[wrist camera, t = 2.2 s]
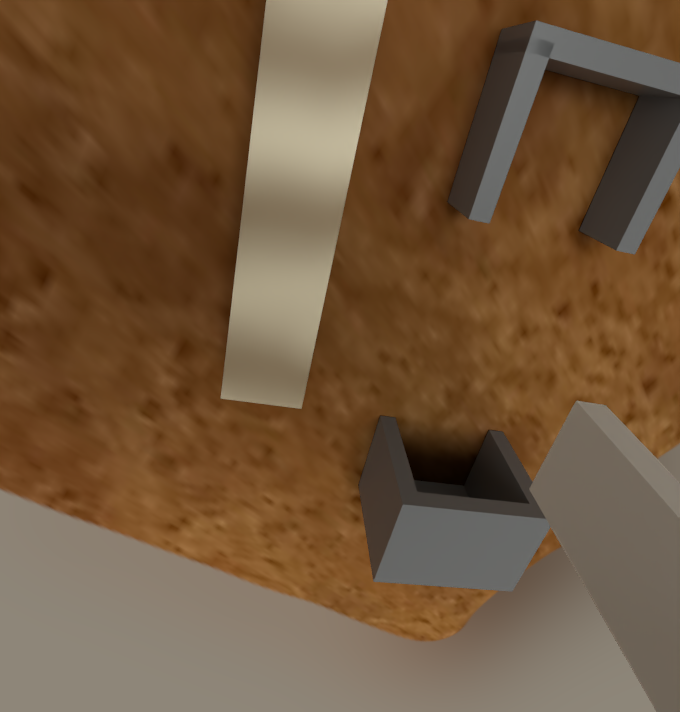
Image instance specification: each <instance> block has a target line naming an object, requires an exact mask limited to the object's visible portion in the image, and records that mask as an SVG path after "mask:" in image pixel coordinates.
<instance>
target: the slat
mask: <svg viewBox="0 0 680 712" xmlns="http://www.w3.org/2000/svg"><path fill="white" fill-rule="evenodd" d="M387 1H388V0H266V7H265V16H264V25H263V33H262V42H261V51H260V60H259V68H258V77H257V86H256V95H255V103H254V112H253V121H252V129H251V138H250V147H249V156H248V164H247V173H246V182H245V191H244V199H243V208H242V217H241V225H240V234H239V243H238V252H237V260H236V269H235V278H234V287H233V295H232V304H231V313H230V321H229V330H228V339H227V348H226V356H225V365H224V374H223V383H222V391H221V399H228V400H236V401H244V402H252V403H260V404H268V405H275V406H283V407H291V408H299V409H301V408H302V404H303V399H304V394H305V389H306V385H307V380H308V375H309V370H310V366H311V361H312V356H313V351H314V347H315V342H316V337H317V333H318V328H319V323H320V318H321V314H322V309H323V304H324V299H325V295H326V290H327V285H328V280H329V276H330V271H331V266H332V261H333V257H334V252H335V247H336V243H337V238H338V233H339V228H340V224H341V219H342V214H343V209H344V205H345V200H346V195H347V190H348V186H349V181H350V176H351V171H352V167H353V162H354V157H355V152H356V148H357V143H358V138H359V134H360V129H361V124H362V119H363V115H364V110H365V105H366V100H367V96H368V91H369V86H370V81H371V77H372V72H373V67H374V62H375V58H376V53H377V48H378V43H379V39H380V34H381V29H382V25H383V20H384V15H385V10H386V6H387Z"/></svg>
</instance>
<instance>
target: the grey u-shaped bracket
mask: <svg viewBox="0 0 680 712" xmlns="http://www.w3.org/2000/svg"><path fill="white" fill-rule="evenodd" d="M545 70H548V71H552V72H555V73H559V74H563V75H566V76H570V77H573V78H577V79H581V80H584V81H588V82H591V83H595V84H599V85H602V86H606V87H609V88H613V89H617V90H620V91H624V92H627V93H631V94H635V95H638V96H639V98H638V101H637V103H636V105H635V107H634V109H633V112H632V114H631V116H630V118H629V121H628V123H627V125H626V127H625V129H624V132H623V134H622V136H621V138H620V141H619V143H618V145H617V147H616V149H615V152H614V154H613V156H612V158H611V160H610V163H609V165H608V167H607V169H606V172H605V174H604V176H603V178H602V180H601V183H600V185H599V187H598V189H597V192H596V194H595V196H594V198H593V200H592V203H591V205H590V207H589V209H588V212H587V214H586V216H585V218H584V220H583V223H582V225H581V227H580V229H579V231H581V232H582V233H584V234H586V235H588V236H590V237H592V238H594V239H596V240H598V241H599V242H601V243H603V244H605V245H607V246H609V247H611V248H613V249H615V250H617V251H621V252H626V253H631V254H635V253H636V251H637V249H638V247H639V245H640V243H641V241H642V239H643V237H644V235H645V233H646V232H647V230H648V228H649V226H650V224H651V222H652V220H653V218H654V216H655V214H656V212H657V210H658V208H659V206H660V204H661V202H662V201H663V199H664V197H665V195H666V193H667V191H668V189H669V187H670V185H671V183H672V181H673V179H674V177H675V175H676V173H677V172H678V170H679V168H680V63H678V62H674V61H671V60H668V59H664V58H661V57H657V56H654V55H651V54H647V53H644V52H641V51H637V50H634V49H630V48H627V47H624V46H620V45H617V44H614V43H610V42H607V41H603V40H600V39H597V38H593V37H590V36H586V35H583V34H580V33H576V32H573V31H570V30H566V29H563V28H559V27H556V26H553V25H549V24H546V23H543V22H539V21H533V22H529V23H524V24H520V25H516V26H512V27H508V28H504V29H502V30H501V33H500V36H499V40H498V43H497V46H496V49H495V52H494V56H493V59H492V62H491V65H490V68H489V71H488V75H487V78H486V81H485V84H484V87H483V91H482V94H481V97H480V100H479V103H478V106H477V110H476V113H475V116H474V119H473V122H472V126H471V129H470V132H469V135H468V138H467V141H466V145H465V148H464V151H463V154H462V157H461V161H460V164H459V167H458V170H457V173H456V176H455V180H454V183H453V186H452V189H451V192H450V196H449V199H448V203H449V204H451V205H452V206H453V207H454V208H456V209H457V210H458V211H459V212H460V213H462V214H463V215H464V216H465V217H467V218H468V219H471V220H475V221H480V222H485V223H490V220H491V218H492V215H493V212H494V209H495V207H496V204H497V201H498V198H499V196H500V193H501V190H502V187H503V184H504V182H505V179H506V176H507V173H508V171H509V168H510V165H511V162H512V160H513V157H514V154H515V151H516V148H517V146H518V143H519V140H520V137H521V135H522V132H523V129H524V126H525V124H526V121H527V118H528V115H529V112H530V110H531V107H532V104H533V101H534V99H535V96H536V93H537V90H538V88H539V85H540V82H541V79H542V77H543V74H544V71H545Z"/></svg>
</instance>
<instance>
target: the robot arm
mask: <svg viewBox="0 0 680 712" xmlns="http://www.w3.org/2000/svg"><path fill="white" fill-rule="evenodd" d="M529 490H530V492H531V493H532V495H533V497H534V499H535V500H536V502H537V504H538V506H539V507H540V509H541V511H542V513H543V514H544V516H545V518H546V520H547V521H548V523H549V525H550V527H551V528H552V530H553V532H554V534H555V535H556V537H557V539H558V541H559V542H560V544H561V546H562V548H563V549H564V551H565V552H566V554H567V556H568V558H569V560H570V561H571V563H572V565H573V567H574V568H575V570H576V572H577V574H578V575H579V577H580V579H581V581H582V582H583V584H584V586H585V588H586V589H587V591H588V593H589V595H590V596H591V598H592V600H593V602H594V603H595V605H596V607H597V608H598V610H599V612H600V614H601V616H602V617H603V619H604V621H605V623H606V624H607V626H608V628H609V630H610V631H611V633H612V635H613V637H614V638H615V640H616V642H617V644H618V645H619V647H620V649H621V650H622V652H623V654H624V656H625V657H626V659H627V661H628V663H629V665H630V666H631V668H632V670H633V671H634V673H635V675H636V677H637V679H638V680H639V682H640V684H641V686H642V687H643V689H644V691H645V692H646V694H647V696H648V698H649V699H650V701H651V703H652V705H653V706H654V708H655V710H656V712H680V482H679V481H678V480H677V479H676V478H675V477H674V476H673V475H672V474H671V473H670V472H669V471H668V470H667V469H666V468H665V467H664V466H663V465H662V464H661V463H660V462H659V460H658V459H657V458H656V457H655V456H654V455H653V454H652V453H651V452H650V451H649V450H648V449H647V448H646V447H645V446H644V445H643V444H642V443H641V442H640V441H639V440H638V439H637V438H636V436H635V435H634V434H633V433H632V432H631V431H630V430H629V429H628V428H627V427H626V426H625V425H624V424H623V423H622V422H621V421H620V420H619V419H618V418H617V417H616V416H615V415H614V414H613V412H612V411H611V410H610V409H609V408H608V407H607V406H606V405H601V404H594V403H587V402H581V401H576V402H575V404H574V406H573V408H572V409H571V411H570V413H569V415H568V417H567V419H566V421H565V423H564V425H563V426H562V428H561V430H560V432H559V434H558V436H557V438H556V440H555V441H554V443H553V445H552V447H551V449H550V451H549V453H548V455H547V456H546V458H545V460H544V462H543V464H542V466H541V468H540V470H539V472H538V473H537V475H536V477H535V479H534V481H533V483H532V485H531V487H530V488H529Z"/></svg>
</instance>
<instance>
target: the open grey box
mask: <svg viewBox="0 0 680 712" xmlns="http://www.w3.org/2000/svg"><path fill="white" fill-rule="evenodd" d="M532 483H533V482H532V481H531V479H530V477H529V475H528V474H527V472H526V470H525V469H524V467H523V465H522V464H521V462H520V460H519V458H518V457H517V455H516V453H515V452H514V450H513V448H512V447H511V445H510V443H509V442H508V440H507V438H506V436H505V435H504V433H503V432H500V431H492V430H489V431H488V433H487V436H486V438H485V440H484V442H483V444H482V447H481V449H480V451H479V453H478V456H477V458H476V460H475V462H474V464H473V467H472V469H471V471H470V473H469V475H468V478H467V480H466V482H465V484H464V486H463V485H454V484H445V483H436V482H427V481H418V480H414V479H413V475H412V472H411V469H410V465H409V462H408V459H407V455H406V452H405V449H404V445H403V442H402V438H401V435H400V432H399V428H398V425H397V422H396V418H395V417H387V416H380V418H379V421H378V425H377V428H376V431H375V434H374V437H373V440H372V444H371V447H370V450H369V453H368V456H367V460H366V463H365V466H364V469H363V472H362V475H361V479H360V482H359V492H360V498H361V505H362V511H363V517H364V524H365V530H366V537H367V543H368V549H369V556H370V562H371V569H372V575H373V581H374V582H387V583H401V584H415V585H429V586H443V587H457V588H471V589H485V590H499V591H513V589H514V588H515V586H516V584H517V582H518V581H519V579H520V577H521V576H522V574H523V572H524V571H525V569H526V567H527V566H528V564H529V562H530V561H531V559H532V557H533V556H534V554H535V552H536V551H537V549H538V547H539V545H540V544H541V542H542V540H543V539H544V537H545V535H546V534H547V532H548V530H549V529H550V525H549V523H548V521H547V520H546V518H545V516H544V514H543V513H542V511H541V509H540V507H539V506H538V504H537V502H536V500H535V499H534V497H533V495H532V493H531V492H530V490H529V488H530V487H531V485H532Z"/></svg>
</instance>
